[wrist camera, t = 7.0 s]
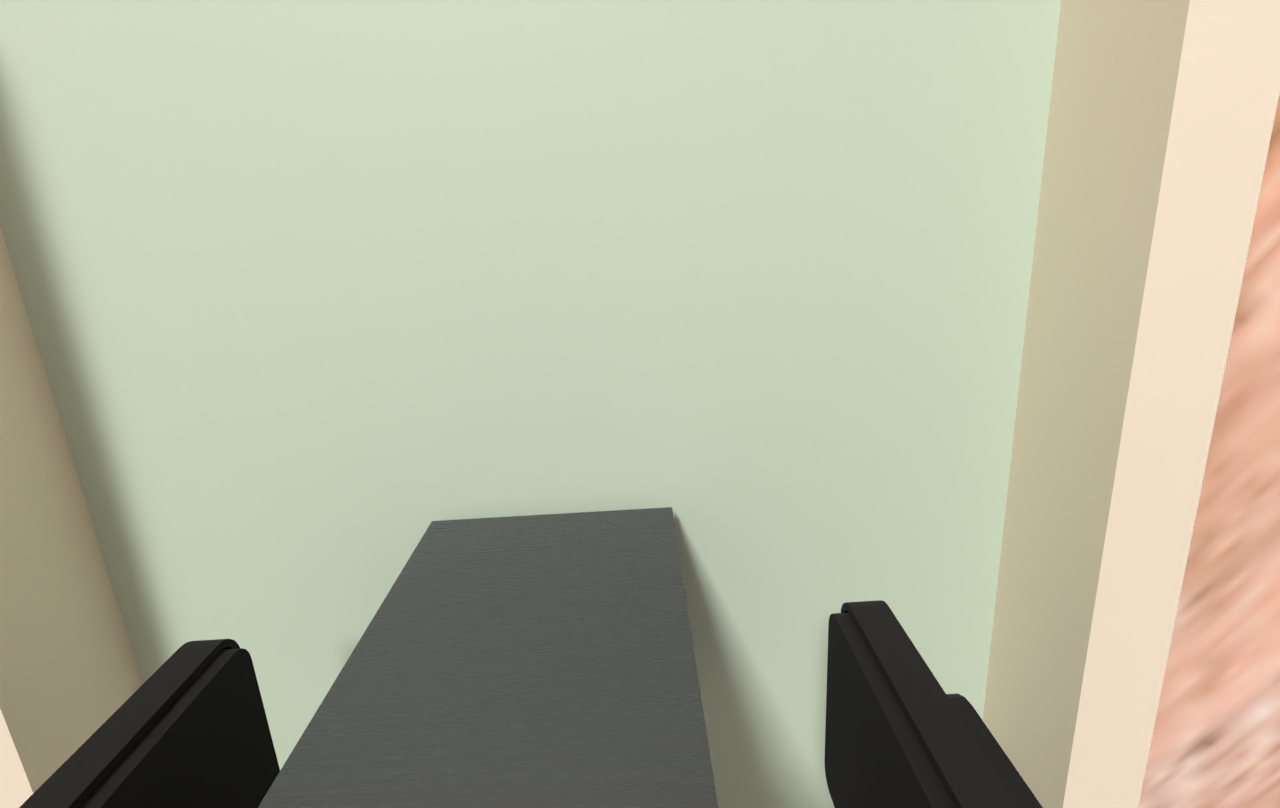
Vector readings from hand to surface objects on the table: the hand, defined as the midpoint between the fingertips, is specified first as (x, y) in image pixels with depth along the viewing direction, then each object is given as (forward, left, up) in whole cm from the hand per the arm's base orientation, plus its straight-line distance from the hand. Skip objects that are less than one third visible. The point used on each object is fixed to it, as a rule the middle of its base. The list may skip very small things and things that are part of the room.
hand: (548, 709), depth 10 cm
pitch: (0, +2, -4) cm, 4 cm away
